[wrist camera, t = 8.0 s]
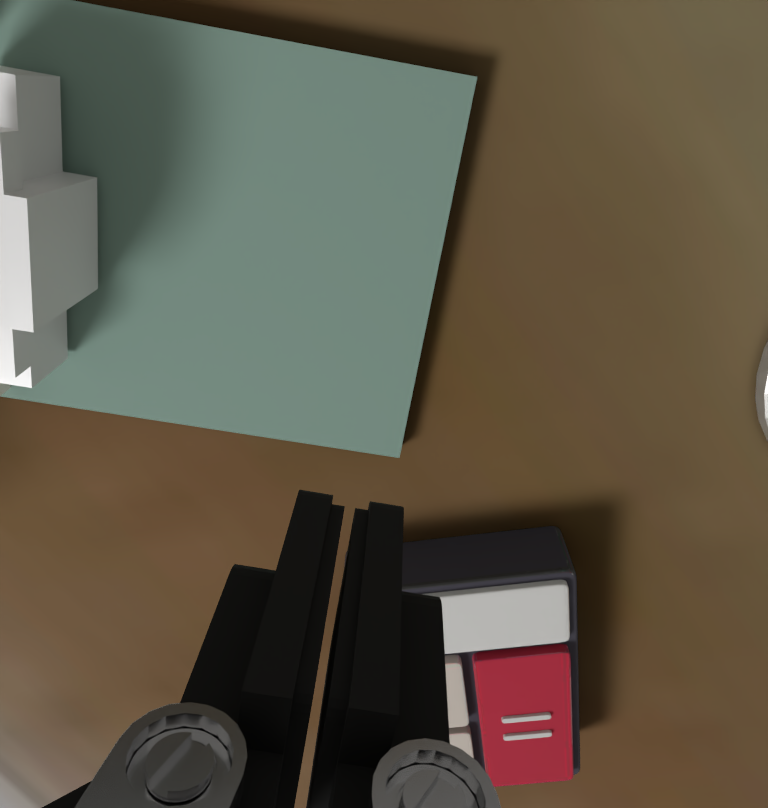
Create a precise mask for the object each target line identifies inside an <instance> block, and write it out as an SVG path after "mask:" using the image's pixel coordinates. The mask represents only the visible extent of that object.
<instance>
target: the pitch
mask: <svg viewBox="0 0 768 808" xmlns="http://www.w3.org/2000/svg"><path fill="white" fill-rule="evenodd" d="M0 66H5V67H11V68H16V69H22V70H27V71H33V72H38V73H44V74H49V75H54V76H60V95H61V131H62V167H63V172H69V173H74V174H80V175H86V176H92V177H97V217H98V289H97V290H95V291H94V292H93V293H91V294H90V295H88V296H87V297H85V298H84V299H82V300H81V301H79V302H78V303H76V304H75V305H73V306H72V307H70V308H69V309H67V346H68V358H67V359H66V360H65V361H64V362H63V363H61V364H60V365H59V366H58V367H57V368H55V369H54V370H53V371H52V372H51V373H49V374H48V375H47V376H46V377H45V378H43V379H42V380H41V381H40V382H39V383H37V384H36V385H35V386H34V387H32V388H28V387H22V386H15V385H10V386H11V388H10V389H9V390H7V391H6V392H5V393H3V394H2V395H1V397H8V398H14V399H21V400H27V401H34V402H40V403H47V404H53V405H60V406H66V407H73V408H79V409H86V410H92V411H99V412H105V413H112V414H118V415H125V416H131V417H138V418H144V419H150V420H157V421H163V422H170V423H176V424H183V425H189V426H196V427H202V428H209V429H215V430H222V431H228V432H235V433H241V434H248V435H254V436H261V437H267V438H274V439H280V440H287V441H293V442H300V443H306V444H313V445H319V446H326V447H332V448H338V449H345V450H351V451H358V452H364V453H371V454H377V455H384V456H390V457H397V458H399V457H400V452H401V447H402V443H403V438H404V433H405V428H406V423H407V418H408V413H409V408H410V403H411V399H412V394H413V389H414V384H415V379H416V374H417V369H418V364H419V360H420V355H421V350H422V345H423V340H424V335H425V330H426V325H427V320H428V316H429V311H430V306H431V301H432V296H433V291H434V286H435V281H436V276H437V272H438V267H439V262H440V257H441V252H442V247H443V242H444V237H445V232H446V228H447V223H448V218H449V213H450V208H451V203H452V198H453V193H454V188H455V184H456V179H457V174H458V169H459V164H460V159H461V154H462V149H463V144H464V140H465V135H466V130H467V125H468V120H469V115H470V110H471V105H472V100H473V96H474V91H475V86H476V81H477V77H475V76H470V75H465V74H460V73H454V72H449V71H444V70H438V69H433V68H428V67H422V66H417V65H412V64H407V63H401V62H396V61H391V60H385V59H380V58H375V57H370V56H364V55H359V54H354V53H348V52H343V51H338V50H333V49H327V48H322V47H317V46H311V45H306V44H301V43H296V42H290V41H285V40H280V39H274V38H269V37H264V36H259V35H253V34H248V33H243V32H237V31H232V30H227V29H222V28H216V27H211V26H206V25H200V24H195V23H190V22H185V21H179V20H174V19H169V18H163V17H158V16H153V15H147V14H142V13H137V12H132V11H126V10H121V9H116V8H110V7H105V6H100V5H95V4H89V3H84V2H79V1H73V0H0Z"/></svg>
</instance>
